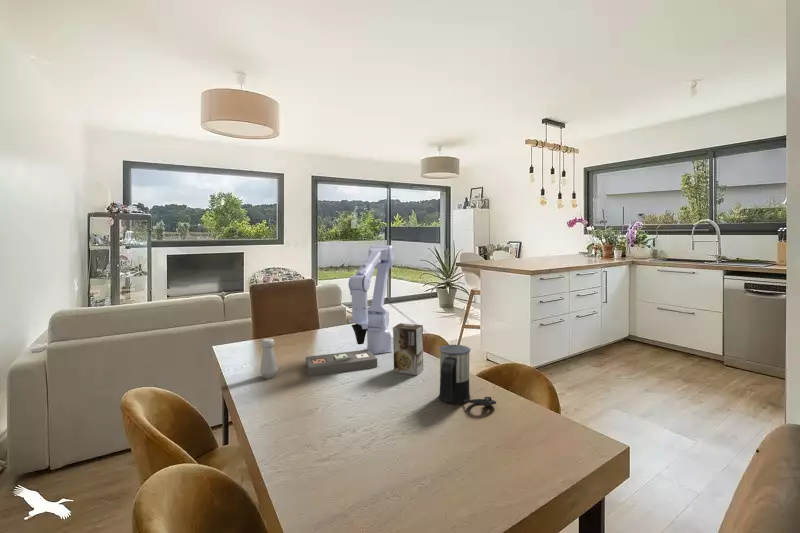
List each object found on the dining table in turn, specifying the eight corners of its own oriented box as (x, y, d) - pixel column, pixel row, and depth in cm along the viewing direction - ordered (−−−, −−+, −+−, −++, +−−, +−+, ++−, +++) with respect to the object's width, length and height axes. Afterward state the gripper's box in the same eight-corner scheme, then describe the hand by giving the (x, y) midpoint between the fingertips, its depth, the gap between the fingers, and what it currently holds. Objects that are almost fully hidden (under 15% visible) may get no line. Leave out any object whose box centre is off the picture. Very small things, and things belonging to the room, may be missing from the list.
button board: (368, 356, 151) (368, 349, 151) (377, 366, 140) (377, 358, 140) (305, 364, 143) (305, 357, 143) (310, 376, 132) (309, 367, 131)
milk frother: (438, 390, 119) (438, 343, 117) (491, 392, 117) (491, 344, 116) (438, 412, 104) (438, 359, 103) (498, 414, 103) (498, 360, 101)
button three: (324, 364, 142) (324, 357, 141) (326, 368, 137) (326, 361, 137) (312, 366, 140) (311, 359, 140) (313, 370, 136) (313, 363, 136)
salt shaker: (281, 374, 134) (280, 337, 132) (271, 380, 128) (269, 342, 127) (267, 372, 136) (266, 336, 134) (256, 378, 130) (254, 340, 129)
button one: (366, 359, 147) (366, 352, 147) (369, 362, 143) (369, 356, 143) (355, 360, 146) (355, 354, 145) (358, 364, 141) (357, 357, 141)
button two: (345, 360, 144) (345, 353, 144) (348, 363, 140) (348, 356, 140) (334, 361, 143) (333, 354, 142) (336, 365, 139) (336, 358, 138)
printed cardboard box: (424, 369, 137) (423, 324, 135) (417, 375, 131) (416, 329, 129) (400, 366, 141) (400, 322, 139) (392, 372, 135) (392, 326, 133)
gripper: (344, 305, 147) (345, 339, 149) (353, 312, 134) (354, 350, 135) (362, 303, 150) (363, 337, 151) (373, 310, 136) (374, 348, 138)
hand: (360, 343), depth 143 cm, fingers closed
